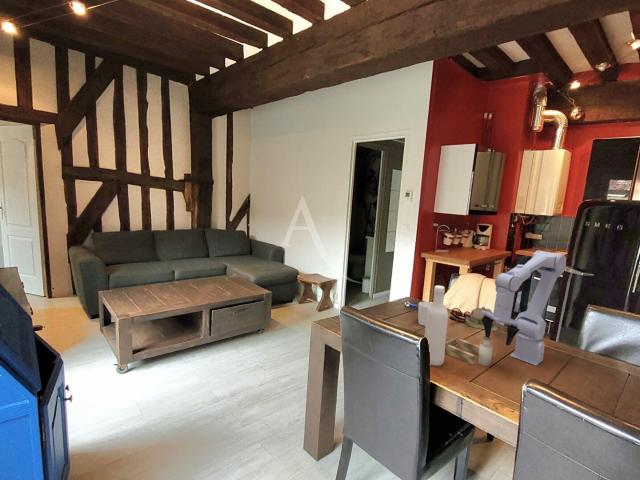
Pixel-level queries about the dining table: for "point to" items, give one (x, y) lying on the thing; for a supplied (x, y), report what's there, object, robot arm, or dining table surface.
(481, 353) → the bottle
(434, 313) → the bottle
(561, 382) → the dining table surface
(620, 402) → the dining table surface
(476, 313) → the ceramic model
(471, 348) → the u rest
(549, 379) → the dining table surface
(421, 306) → the white cup
